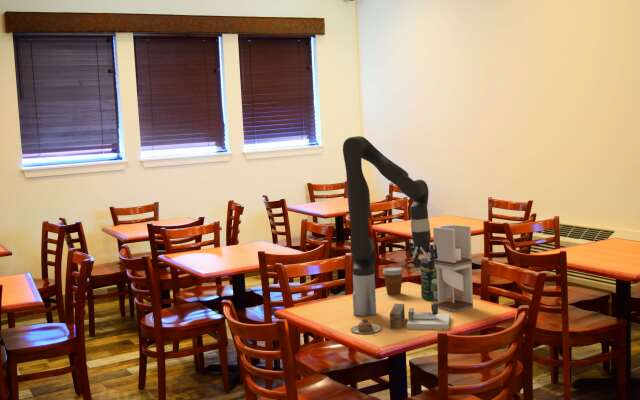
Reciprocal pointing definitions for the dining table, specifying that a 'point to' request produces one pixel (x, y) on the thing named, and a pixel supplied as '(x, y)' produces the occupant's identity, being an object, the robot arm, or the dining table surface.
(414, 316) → the bolt
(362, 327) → the pastry
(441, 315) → the door board
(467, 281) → the display case
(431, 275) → the coffee jar
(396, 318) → the block
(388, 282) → the disposable coffee cup
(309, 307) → the dining table surface
